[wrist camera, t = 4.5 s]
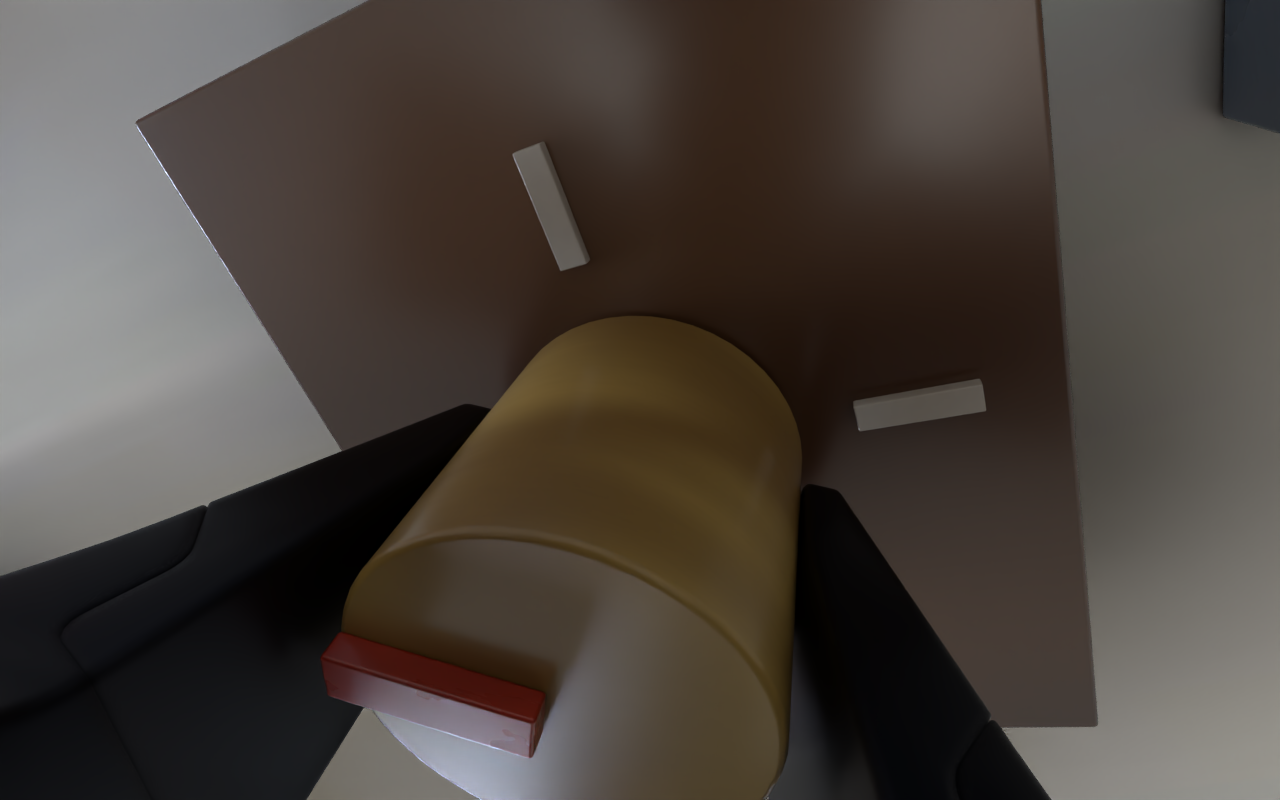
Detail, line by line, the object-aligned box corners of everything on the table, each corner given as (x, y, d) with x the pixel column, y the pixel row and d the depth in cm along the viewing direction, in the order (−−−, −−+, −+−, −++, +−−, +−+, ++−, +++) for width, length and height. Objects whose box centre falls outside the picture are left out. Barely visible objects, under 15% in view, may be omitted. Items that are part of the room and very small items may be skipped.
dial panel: (1043, 580, 12) (1104, 739, 10) (567, 617, 16) (515, 740, 13) (950, -224, 7) (1021, -347, 5) (289, 93, 11) (120, 123, 8)
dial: (841, 352, 8) (855, 656, 4) (763, 590, 10) (730, 926, 6) (515, 282, 8) (280, 498, 5) (508, 522, 10) (343, 798, 7)
